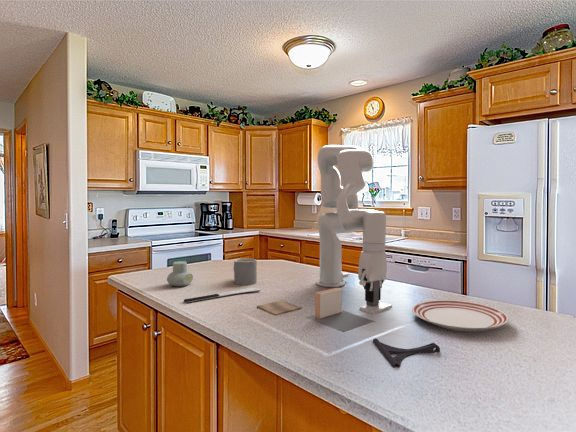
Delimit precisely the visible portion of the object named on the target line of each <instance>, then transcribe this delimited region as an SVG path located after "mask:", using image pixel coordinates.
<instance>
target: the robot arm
mask: <svg viewBox="0 0 576 432" xmlns="http://www.w3.org/2000/svg"><path fill="white" fill-rule="evenodd" d="M317 165H318V170H319V174H320V199H321V201H320V202H321V203H320V204H321V205H322V207H323V208H325V209H331V210H332V209H333V210H335V209H336V211H325V212H322V213H321V214H320V215H319V216H318V217H317V227H318V228H317V229H318V234H319V235H318V236H319V278H318V279H316V280H315V284H316V285H317V286H320V287H324V288H325V287H326V288H340V287H344V285H346V281H345V280H344V278H348V277H349V276H350V275H349V273H348V272H342V268H343V267H342V263H343V262H342V260H343V258H342V255H343V254H342V253H343V251H342V249H343V248H342V247H343V246H342V242H341V240H340V239H339V237H338V235H339V234H340V235H341V234H352V233H355V232H356V231H362V251H361V253H360V255H359V261H358V272H357V273H358V280H359V283H358V284H359V285H360V286H362V287H363V289H364V301H365V302H366V301H368V302H371V303H372V302H373V301H374V291H372V290H373V282H374V281H378V280H379V301H381V298H382V297H381V292H382V290H381V289H382V288H383V284H384V282H385V280H386V281H387V269H388V268H387V267H388V266H387V254H386V230H387V229H386V228H387V225H386V224H387V215H386V213H385V212H384V211H381V210H380V211H379V210H375V209H371V208H368V209H367V208H359V198H358V197H359V196H358V194H357V193H359V192H360V191H361V190H363V189H365V186H366V180H365V177H364V176H365V175H364V173H363V172H366V173H367V172H368V173H369V172H370V171H371V170H372V169H373V167H374V157H373V154H372V153H371V152H370V151H369V150H368V149H366V148H362V147H361V146H356V145H344V144H343V145H341V144H329V145H328V144H327V145H323V146H322V147H320V148H319V150H318V153H317ZM335 166H337V168H336V167H335ZM341 184H342V185H341ZM368 283H370V284H368Z"/></svg>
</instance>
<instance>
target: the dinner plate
mask: <svg viewBox="0 0 576 432" xmlns="http://www.w3.org/2000/svg"><path fill="white" fill-rule="evenodd" d="M411 311H412V313H413V315H415V316H416V317H417V318H420V319H421V320H423V321H425V322H426V323H430V324H432V325H436V326H437V325H438V326H437V327H440V326H441V328H443V327H444V328H443V329H447V328H448V330H452V329H453V331H457V330H458V332H482V331H489V330H494V329H497V328H500V327H503V326H505V325H506V324H508V323H509V322H510V316H509V315H508V314H507V313H505V312H504V311H502V310H501V309H498V308H496V307H492V306H490V305H486V304H481V303H479V302H473V301H472V302H471V301H464V300H453V299H435V300H433V299H432V300H427V301H421V302H419V303H416V304H414V305H413V306H412V307H411Z"/></svg>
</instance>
